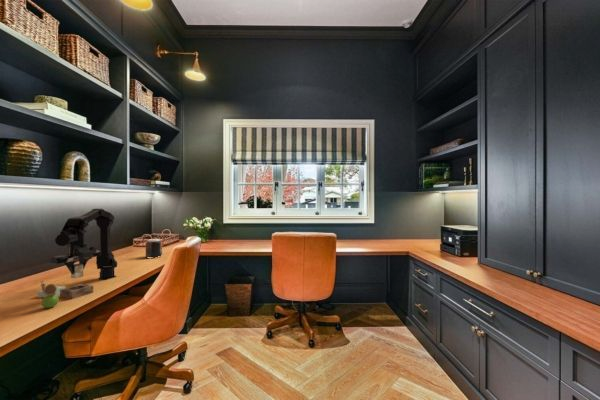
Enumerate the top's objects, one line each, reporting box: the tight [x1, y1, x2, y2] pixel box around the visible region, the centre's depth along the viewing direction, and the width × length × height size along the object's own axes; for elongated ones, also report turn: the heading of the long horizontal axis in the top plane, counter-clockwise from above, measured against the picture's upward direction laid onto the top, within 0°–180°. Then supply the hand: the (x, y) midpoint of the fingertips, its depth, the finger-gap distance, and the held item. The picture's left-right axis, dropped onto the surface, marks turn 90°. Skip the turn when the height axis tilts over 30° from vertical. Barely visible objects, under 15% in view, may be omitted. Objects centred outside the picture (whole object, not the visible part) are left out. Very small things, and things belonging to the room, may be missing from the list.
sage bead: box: [37, 285, 67, 298], centre depth 125 cm, size 7×7×3 cm
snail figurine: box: [40, 280, 60, 309], centre depth 110 cm, size 5×6×12 cm
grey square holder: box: [59, 283, 94, 300], centre depth 125 cm, size 9×9×4 cm
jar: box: [145, 238, 163, 258], centre depth 208 cm, size 12×12×15 cm
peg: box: [70, 263, 84, 279], centre depth 125 cm, size 3×3×6 cm
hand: (77, 273), depth 125 cm, fingers closed on peg, 3 cm apart
